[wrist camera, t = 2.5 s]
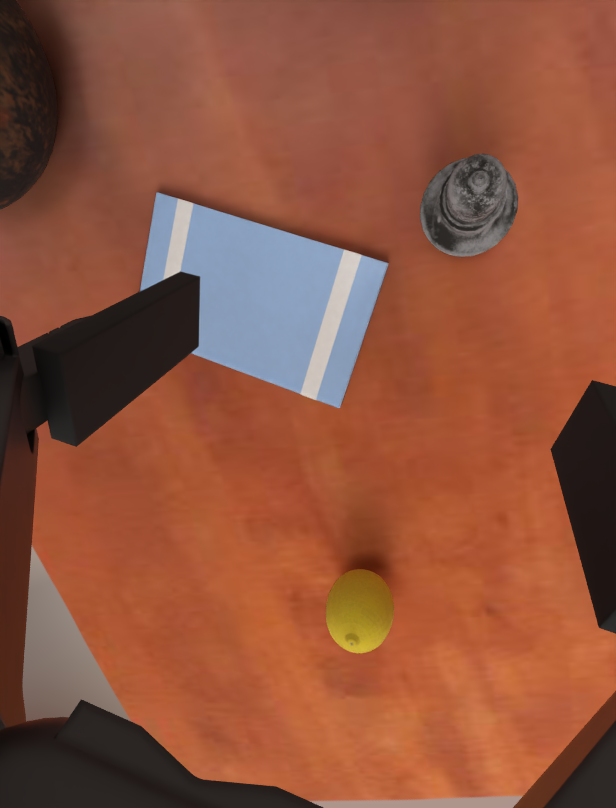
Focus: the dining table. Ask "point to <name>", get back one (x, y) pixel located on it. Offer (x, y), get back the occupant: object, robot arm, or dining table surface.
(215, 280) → the cloth
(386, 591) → the lemon
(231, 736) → the dining table surface
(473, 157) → the salt shaker
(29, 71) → the glass bottle
